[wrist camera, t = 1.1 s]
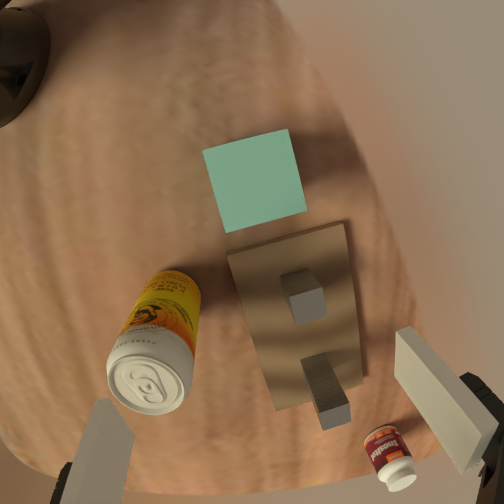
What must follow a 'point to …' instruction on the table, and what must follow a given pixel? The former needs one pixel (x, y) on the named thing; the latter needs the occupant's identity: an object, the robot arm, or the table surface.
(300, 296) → the short post
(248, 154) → the mint green toy brick
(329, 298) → the board
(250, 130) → the table surface
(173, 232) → the table surface
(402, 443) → the pill bottle
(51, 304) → the table surface
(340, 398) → the tall post
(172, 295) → the beer can
